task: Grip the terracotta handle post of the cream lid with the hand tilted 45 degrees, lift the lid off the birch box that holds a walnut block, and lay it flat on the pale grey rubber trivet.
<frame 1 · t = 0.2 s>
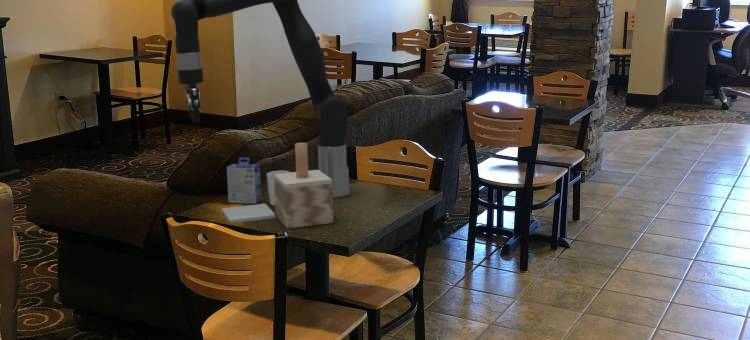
hand: (195, 120, 250), 29 cm above the table, tool pointing down, fingers open, 8 cm apart
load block: (303, 211, 244), in the box
trivet: (248, 214, 251), on the table
white cup: (280, 203, 263), on the table
ink cartridge box: (245, 202, 266), on the table
lid: (302, 180, 242), point 12 cm above the table, touching box
box: (304, 219, 245), on the table
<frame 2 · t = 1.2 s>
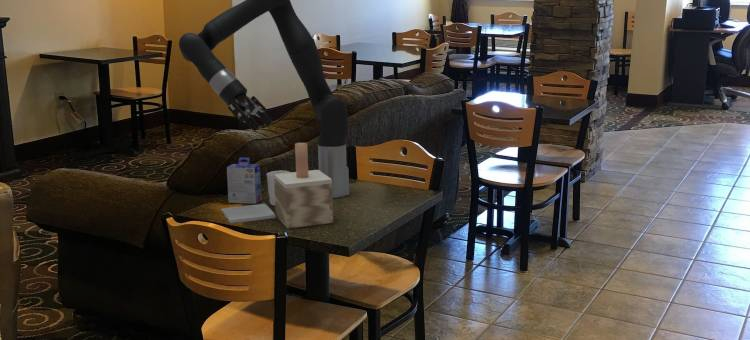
hand: (263, 126, 242), 28 cm above the table, tool tilted 45°, fingers open, 8 cm apart
nothing on the table moved.
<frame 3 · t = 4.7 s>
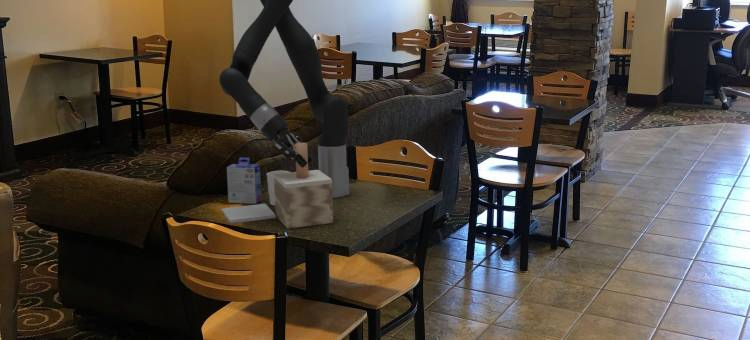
hand: (308, 163, 240), 17 cm above the table, tool tilted 45°, fingers closed on lid, 3 cm apart
lid: (302, 180, 242), point 12 cm above the table, touching box, gripper
everything else where it was.
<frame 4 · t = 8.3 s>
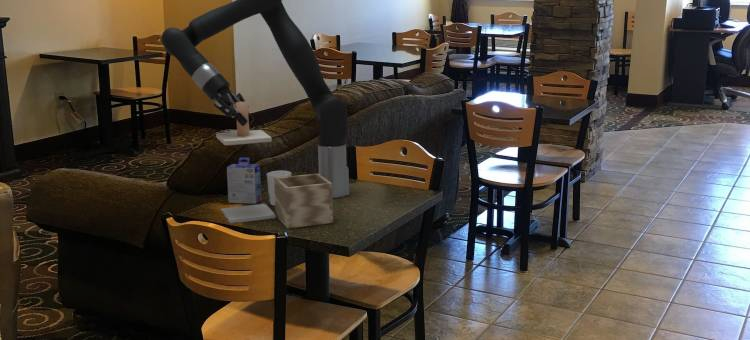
hand: (248, 122, 244), 29 cm above the table, tool tilted 45°, fingers closed on lid, 3 cm apart
lid: (243, 139, 245), point 24 cm above the table, touching gripper
everything else where it was.
when the fingers open (8 cm above the table, at t = 12.3 s): lid drops 1 cm, resting on trivet.
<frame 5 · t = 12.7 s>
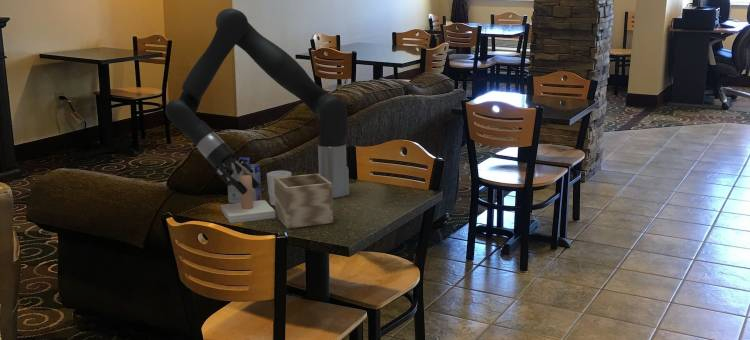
hand: (251, 189, 248), 8 cm above the table, tool tilted 45°, fingers open, 7 cm apart
lid: (247, 211, 251), point 1 cm above the table, touching trivet
everything else where it was.
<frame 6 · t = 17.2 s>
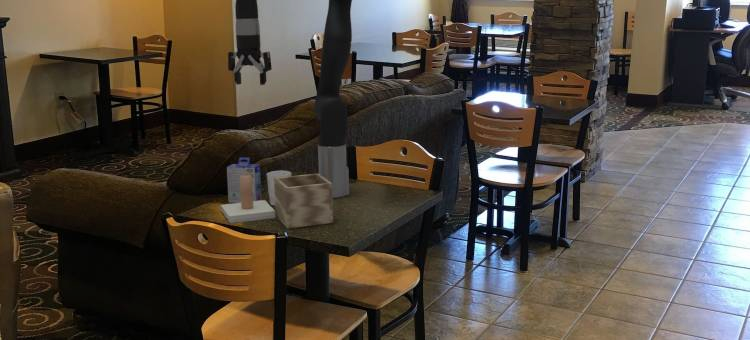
hand: (250, 84, 260), 38 cm above the table, tool pointing down, fingers open, 8 cm apart
nothing on the table moved.
at the end: lid 0.1 cm from the trivet (horizontally); lid point 1.0 cm above the table; lid tilted 0° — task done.
